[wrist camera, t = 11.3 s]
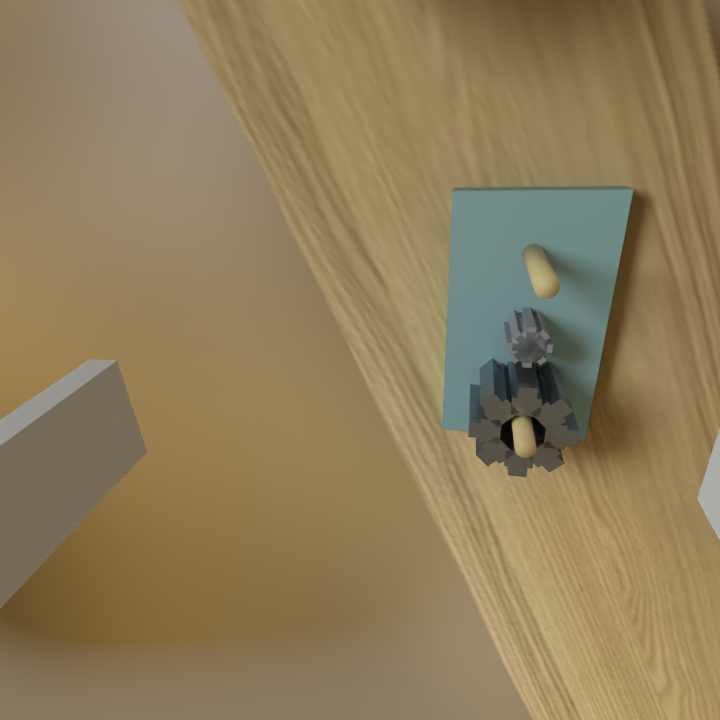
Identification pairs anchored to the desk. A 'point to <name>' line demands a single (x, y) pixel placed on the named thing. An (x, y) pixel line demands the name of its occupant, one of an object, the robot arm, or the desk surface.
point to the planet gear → (525, 398)
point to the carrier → (531, 290)
